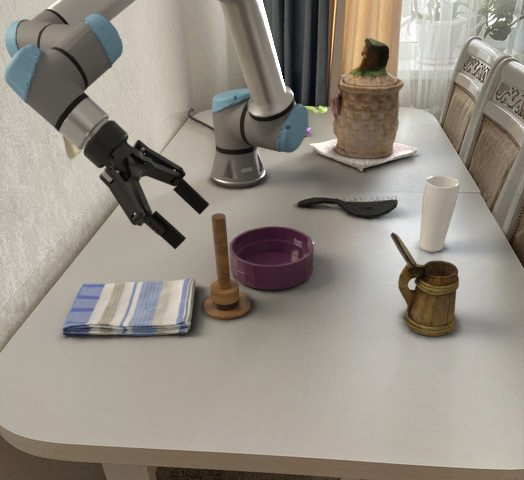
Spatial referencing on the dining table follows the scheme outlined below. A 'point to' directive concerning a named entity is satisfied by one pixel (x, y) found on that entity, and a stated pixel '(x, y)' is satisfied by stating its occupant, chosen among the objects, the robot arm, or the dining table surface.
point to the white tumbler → (437, 211)
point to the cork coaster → (231, 314)
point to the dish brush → (222, 269)
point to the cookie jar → (366, 113)
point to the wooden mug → (428, 293)
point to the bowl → (271, 257)
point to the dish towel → (132, 308)
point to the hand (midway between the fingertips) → (193, 225)
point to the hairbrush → (356, 206)
